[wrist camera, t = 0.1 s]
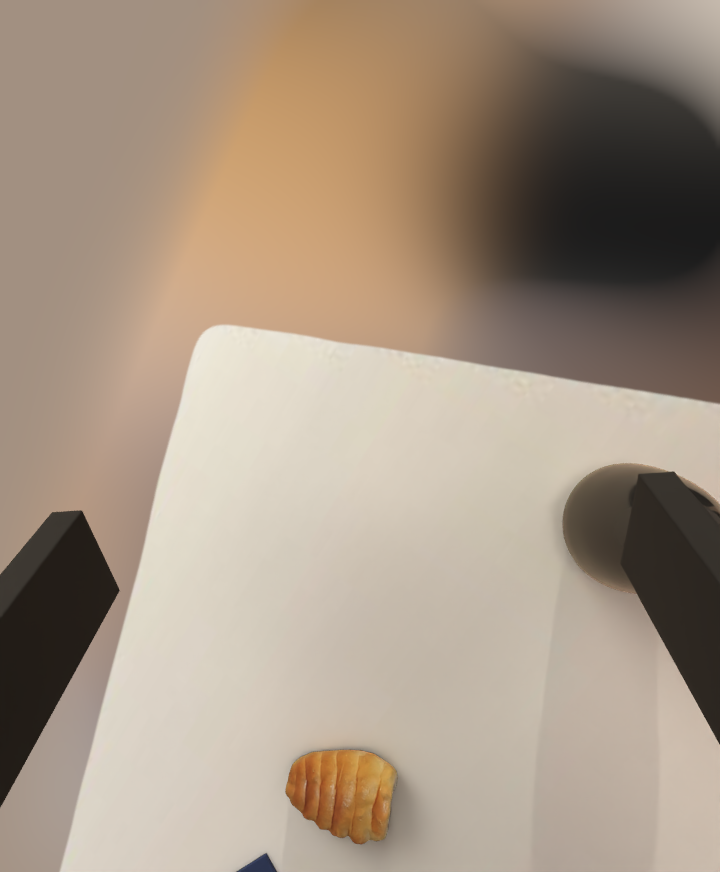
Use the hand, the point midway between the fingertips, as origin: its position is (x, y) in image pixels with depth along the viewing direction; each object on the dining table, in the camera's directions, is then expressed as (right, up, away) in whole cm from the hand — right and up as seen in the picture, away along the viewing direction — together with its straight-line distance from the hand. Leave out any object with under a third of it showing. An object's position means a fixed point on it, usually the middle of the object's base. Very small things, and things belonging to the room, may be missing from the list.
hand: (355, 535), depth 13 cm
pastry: (-1, -28, +34) cm, 44 cm away
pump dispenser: (+22, -5, +34) cm, 41 cm away
